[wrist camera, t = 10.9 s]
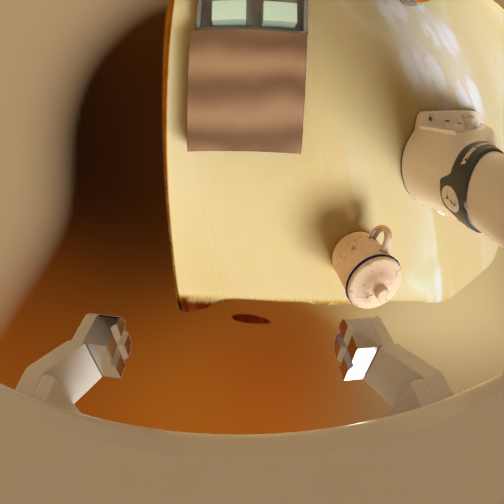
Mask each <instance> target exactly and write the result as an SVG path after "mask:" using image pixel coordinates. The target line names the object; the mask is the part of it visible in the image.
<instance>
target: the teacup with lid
mask: <svg viewBox="0 0 504 504" xmlns="http://www.w3.org/2000/svg"><path fill="white" fill-rule="evenodd" d="M381 231H384V241H383V244H382V245H381V244H380V243H379V242H378V241H377V240H376V238H377V236H378V234H379V233H380V232H381ZM391 242H392V232H391V230H390V229H389V228H388V227H387V226H384V225H378V226H376V227H375V228H374V229H373V230H372V232H371V233H370V234H369V233H366V232H353V233H350V234H348V235H346V236H345V237H343V238H342V239H341V240H340V241H339V242H338V243H337V245H336V246H335V248H334V251H333V254H332V264H333V267H334V269H335V271H336V273H337V274H338V276H339V278H340V280H341V282H342V284H343V286H344V288H345V290H346V295H347V297H348V299H349V300H350V302H351V303H353V304H354V305H356V306H358V307H361V308H374V307H377V306H380V305H382V304H384V303H386V302H387V301H388V300H390V299H391V298H392V297H393V296H394V294H395V293H396V292H397V290H398V288H399V286H400V284H401V280H402V271H401V267H400V264H399V262H398V261H397V260H396V259H395V258H394V257H392V256H390V254H389V253H388V252H387V251H388V250H389V247H390V245H391Z"/></svg>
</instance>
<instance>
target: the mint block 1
mask: <svg viewBox="0 0 504 504" xmlns="http://www.w3.org/2000/svg"><path fill="white" fill-rule="evenodd" d="M212 23H213V26H214V27H246V0H222V1H212Z"/></svg>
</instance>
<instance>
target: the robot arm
mask: <svg viewBox="0 0 504 504" xmlns="http://www.w3.org/2000/svg"><path fill="white" fill-rule="evenodd" d="M429 117H430V121H429ZM402 175H403V180H404V184H405V186H406V189H407V191H408V192H409V194H410V195H411V196H412V198H413V199H414V200H416V201H417V202H418V203H420V204H423V205H426V206H429V207H432V208H433V209H434V210H435V211H436V212H437V213H438V214H440V215H442V216H444V215H448V216H450V217H452V218H454V219H456V220H458V221H460V222H462V223H463V224H465V225H466V226H467V227H468V228H469V229H472V230H474V231H476V232H478V233H483V234H484V235H486V236H487V237H488V238H490V239H491V240H492V241H494V242H495V243H496V244H498V245H499V246H500V247H502V248H503V249H504V153H503V152H502V151H501V150H500V149H499V144H498V140H497V137H496V135H495V133H494V131H493V130H492V129H491V128H490V127H489V126H486V125H484V122H483V120H482V118H481V116H480V115H479V113H478V112H476V111H473V110H440V111H421V112H419V113H418V115H417V119H416V124H415V129H414V131H413V133H412V135H411V137H410V138H409V140H408V142H407V144H406V146H405V149H404V153H403V158H402ZM125 326H126V324H125V321H124V319H123V318H122V317H116V316H108V315H97V314H91V313H89V314H87V315H86V316H85V318H84V319H83V321H82V323H81V325H80V326H79V328H78V330H77V331H76V333H75V335H74V337H73V338H72V340H71V341H67V342H65V343H64V344H62V345H60V346H59V347H57V348H56V349H54V350H53V351H51V352H50V353H48V354H47V355H45V356H44V357H42V358H40V359H39V360H38V361H36V362H34V363H33V364H31V365H30V366H28V367H27V368H26V370H25V372H24V374H23V376H22V377H21V379H20V381H19V383H18V385H17V387H16V389H15V390H13V389H11V388H8V387H7V386H4V385H2V384H0V504H504V373H502V374H500V375H498V376H496V377H494V378H492V379H490V380H488V381H486V382H483V383H481V384H479V385H477V386H475V387H472V388H470V389H468V390H465V391H463V392H461V393H459V394H456V395H454V394H453V392H452V390H451V389H450V387H449V385H448V383H447V381H446V379H445V378H444V376H443V374H442V372H440V371H439V370H437V369H435V368H434V367H433V366H431V365H429V364H428V363H426V362H425V361H423V360H422V359H420V358H419V357H417V356H416V355H414V354H412V353H411V352H409V351H408V350H406V349H405V348H403V347H402V346H400V345H399V344H397V345H395V344H394V342H393V340H392V338H391V337H390V335H389V333H388V331H387V329H386V328H385V326H384V324H383V322H382V321H381V319H380V318H379V317H378V316H376V317H366V318H356V319H343V320H342V321H341V322H340V325H339V329H340V333H339V334H338V335H337V336H336V338H335V342H334V350H335V355H336V359H338V360H339V361H340V362H341V365H340V371H341V374H342V376H343V380H344V381H346V380H355V379H363V378H364V380H365V381H366V382H367V383H368V384H369V385H370V386H371V387H372V388H373V389H374V390H375V391H377V392H378V393H379V394H380V395H381V396H382V397H383V398H384V399H385V400H386V401H387V402H388V403H389V404H391V406H393V408H392V410H391V411H390V412H389V414H388V415H387V416H386V417H383V418H379V419H375V420H371V421H366V422H361V423H356V424H351V425H345V426H339V427H333V428H326V429H319V430H311V431H303V432H291V433H278V434H256V435H255V434H254V435H223V434H200V433H186V432H176V431H167V430H159V429H151V428H145V427H139V426H133V425H127V424H122V423H118V422H113V421H108V420H104V419H100V418H95V417H92V416H88V415H84V414H81V413H80V411H79V410H78V409H77V408H76V406H75V405H74V403H75V402H76V401H77V400H78V399H79V398H81V396H83V395H84V393H86V392H87V391H88V390H89V389H90V388H91V387H92V386H93V385H94V384H95V383H96V382H97V381H98V380H99V379H100V378H101V377H102V376H108V377H115V378H121V377H122V374H123V371H124V368H125V363H124V359H126V358H127V357H128V356H129V354H130V349H131V340H130V336H129V333H128V332H126V331H125V330H124V328H125Z"/></svg>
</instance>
